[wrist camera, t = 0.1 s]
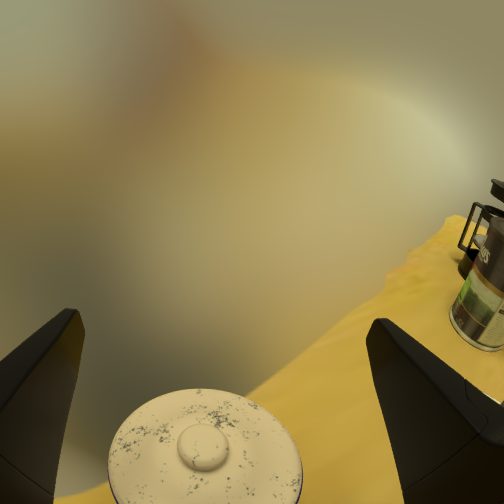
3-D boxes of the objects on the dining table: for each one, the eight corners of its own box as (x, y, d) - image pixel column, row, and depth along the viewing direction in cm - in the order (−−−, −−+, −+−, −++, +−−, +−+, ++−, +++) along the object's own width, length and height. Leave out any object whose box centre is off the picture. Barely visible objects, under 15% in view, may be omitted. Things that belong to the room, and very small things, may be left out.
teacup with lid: (122, 471, 17) (66, 384, 11) (231, 432, 22) (245, 331, 16) (201, 608, 9) (190, 647, 3) (322, 550, 13) (412, 518, 7)
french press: (506, 285, 44) (551, 170, 32) (494, 302, 39) (549, 169, 27) (460, 254, 52) (497, 142, 40) (443, 265, 47) (485, 137, 36)
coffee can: (442, 329, 34) (490, 229, 26) (455, 294, 41) (491, 209, 33) (502, 364, 28) (561, 270, 21) (506, 323, 35) (549, 241, 28)
